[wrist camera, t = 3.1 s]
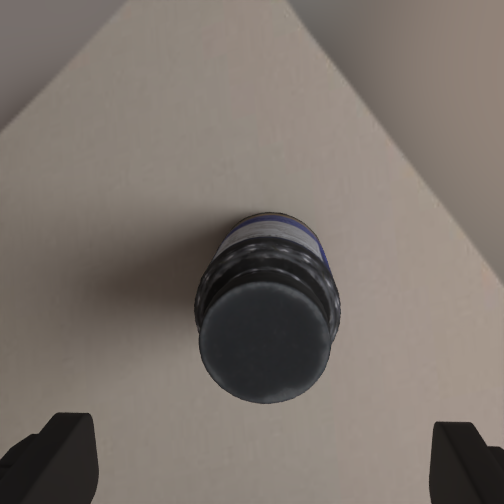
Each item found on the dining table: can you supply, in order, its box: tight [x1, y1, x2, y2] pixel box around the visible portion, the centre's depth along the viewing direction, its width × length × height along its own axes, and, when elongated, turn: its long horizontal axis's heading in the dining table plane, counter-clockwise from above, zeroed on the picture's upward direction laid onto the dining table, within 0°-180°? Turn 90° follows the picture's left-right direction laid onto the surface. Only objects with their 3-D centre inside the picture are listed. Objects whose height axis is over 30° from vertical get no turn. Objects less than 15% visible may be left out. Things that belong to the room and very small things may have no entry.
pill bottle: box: [194, 212, 341, 404], centre depth 22 cm, size 6×6×11 cm
